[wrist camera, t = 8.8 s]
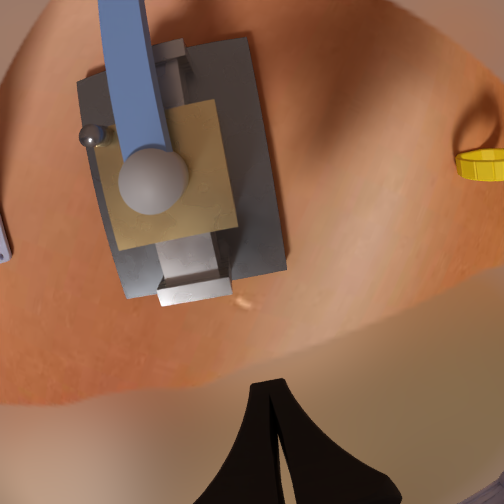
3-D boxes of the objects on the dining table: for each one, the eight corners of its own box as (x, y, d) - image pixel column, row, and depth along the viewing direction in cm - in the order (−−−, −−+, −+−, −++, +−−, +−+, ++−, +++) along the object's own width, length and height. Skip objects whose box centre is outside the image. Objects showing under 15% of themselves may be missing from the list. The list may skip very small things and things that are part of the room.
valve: (130, 292, 21) (96, 351, 14) (82, 84, 16) (24, 62, 10) (284, 264, 21) (309, 317, 15) (245, 42, 17) (255, -9, 10)
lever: (194, 198, 14) (189, 205, 12) (140, 211, 14) (127, 221, 12) (152, -10, 10) (143, -28, 8) (102, 8, 10) (87, -8, 8)
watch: (485, 138, 20) (538, 142, 14) (490, 170, 21) (541, 179, 15) (441, 148, 19) (499, 153, 14) (446, 184, 20) (503, 197, 15)
